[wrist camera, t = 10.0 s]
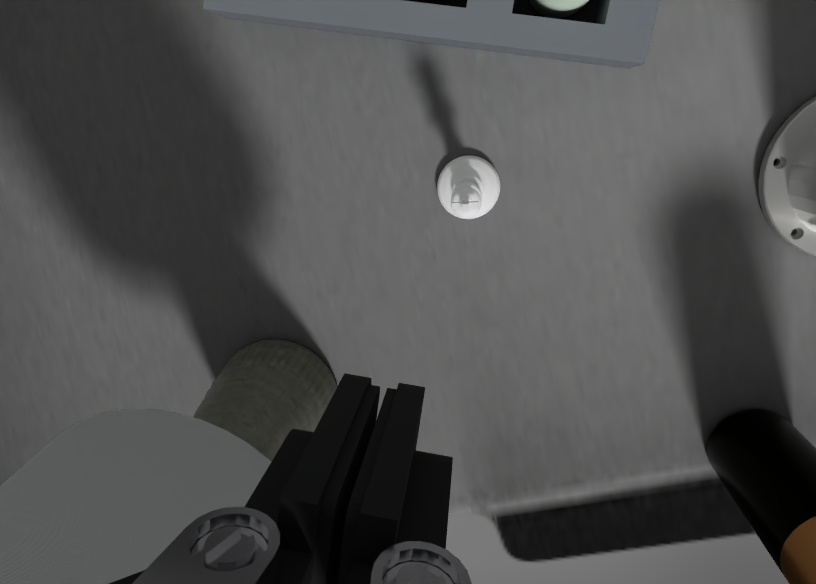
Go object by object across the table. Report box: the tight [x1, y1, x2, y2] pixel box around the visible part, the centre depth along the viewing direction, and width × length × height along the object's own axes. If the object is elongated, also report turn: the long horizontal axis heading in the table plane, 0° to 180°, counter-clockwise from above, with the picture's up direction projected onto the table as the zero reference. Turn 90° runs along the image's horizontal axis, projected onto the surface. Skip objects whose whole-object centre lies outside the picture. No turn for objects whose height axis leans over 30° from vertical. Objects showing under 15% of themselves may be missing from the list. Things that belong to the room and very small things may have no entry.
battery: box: [707, 409, 816, 584], centre depth 38 cm, size 7×7×20 cm
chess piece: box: [437, 155, 500, 219], centre depth 40 cm, size 5×5×10 cm
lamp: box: [0, 339, 337, 584], centre depth 35 cm, size 19×19×37 cm
